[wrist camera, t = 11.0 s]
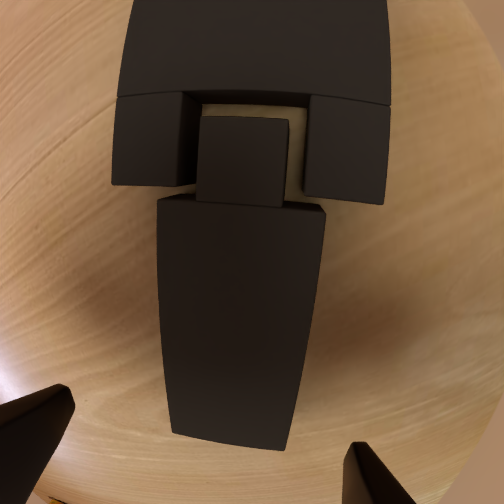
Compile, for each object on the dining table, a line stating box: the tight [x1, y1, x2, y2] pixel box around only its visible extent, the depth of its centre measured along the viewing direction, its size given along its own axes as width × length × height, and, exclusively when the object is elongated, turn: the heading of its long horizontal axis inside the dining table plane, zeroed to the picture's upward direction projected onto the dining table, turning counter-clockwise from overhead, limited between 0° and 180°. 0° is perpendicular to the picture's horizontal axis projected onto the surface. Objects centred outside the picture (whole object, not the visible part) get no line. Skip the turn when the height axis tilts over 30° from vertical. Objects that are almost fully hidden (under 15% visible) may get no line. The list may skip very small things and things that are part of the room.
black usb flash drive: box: [157, 116, 326, 451], centre depth 13 cm, size 6×15×2 cm, turn 176°
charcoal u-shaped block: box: [111, 0, 391, 205], centre depth 10 cm, size 10×12×2 cm
